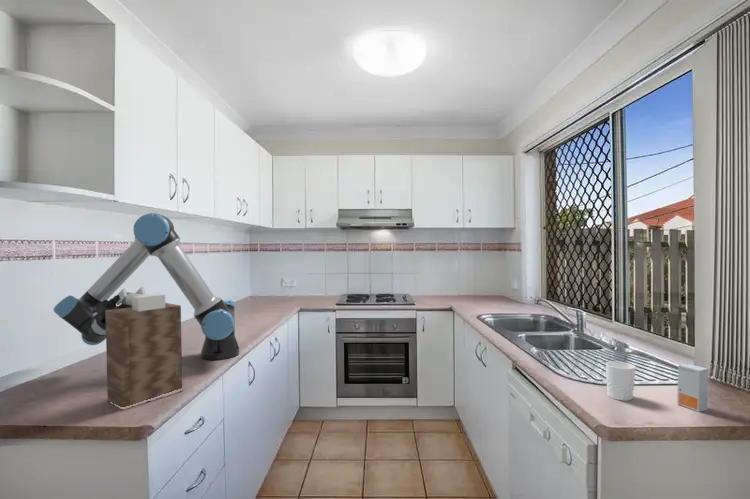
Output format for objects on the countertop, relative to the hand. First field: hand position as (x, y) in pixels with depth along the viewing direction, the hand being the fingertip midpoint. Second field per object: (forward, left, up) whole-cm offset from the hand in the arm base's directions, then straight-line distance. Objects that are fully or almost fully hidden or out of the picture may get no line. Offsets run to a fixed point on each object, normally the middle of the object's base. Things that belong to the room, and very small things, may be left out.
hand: (134, 291), depth 135 cm
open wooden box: (0, +6, -33) cm, 33 cm away
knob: (0, +2, -5) cm, 5 cm away
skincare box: (-89, +144, -33) cm, 173 cm away
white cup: (-86, +126, -33) cm, 156 cm away
